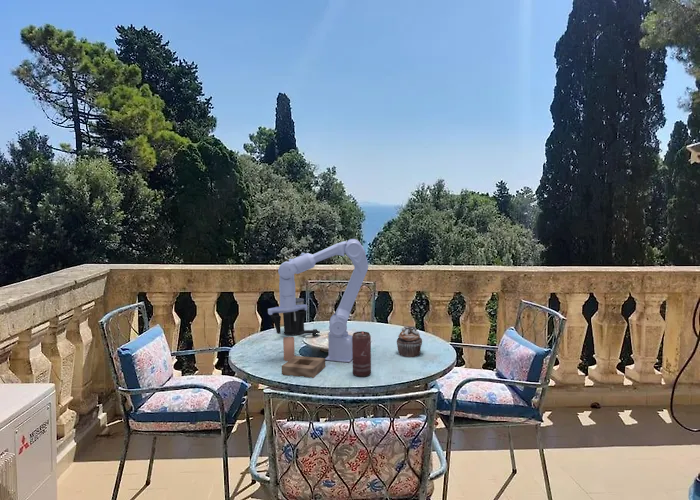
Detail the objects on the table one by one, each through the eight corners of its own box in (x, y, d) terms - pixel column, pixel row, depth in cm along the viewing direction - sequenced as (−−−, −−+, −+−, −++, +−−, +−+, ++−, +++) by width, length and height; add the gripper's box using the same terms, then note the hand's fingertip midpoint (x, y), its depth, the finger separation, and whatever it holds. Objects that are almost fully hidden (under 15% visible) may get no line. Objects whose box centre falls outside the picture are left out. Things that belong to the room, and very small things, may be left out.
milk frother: (284, 330, 232) (283, 297, 230) (320, 329, 232) (319, 296, 231) (282, 339, 217) (281, 304, 216) (319, 338, 218) (319, 303, 217)
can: (370, 370, 178) (369, 330, 176) (371, 377, 171) (371, 335, 170) (352, 371, 177) (351, 330, 176) (353, 377, 171) (352, 336, 170)
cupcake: (392, 351, 199) (392, 325, 198) (416, 349, 202) (416, 323, 200) (401, 358, 190) (401, 331, 189) (426, 356, 192) (426, 329, 191)
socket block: (325, 366, 182) (325, 358, 182) (313, 377, 171) (313, 369, 171) (295, 363, 186) (295, 355, 185) (281, 374, 175) (281, 365, 174)
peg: (296, 358, 192) (295, 336, 191) (292, 361, 188) (291, 339, 188) (286, 357, 193) (285, 336, 193) (281, 360, 190) (281, 339, 189)
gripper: (302, 291, 195) (302, 326, 197) (264, 295, 189) (265, 331, 190) (309, 294, 189) (310, 330, 190) (271, 298, 182) (272, 336, 184)
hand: (288, 331), depth 190 cm, fingers open, 7 cm apart
